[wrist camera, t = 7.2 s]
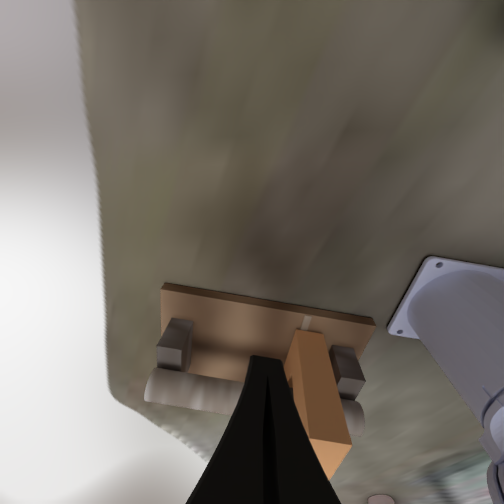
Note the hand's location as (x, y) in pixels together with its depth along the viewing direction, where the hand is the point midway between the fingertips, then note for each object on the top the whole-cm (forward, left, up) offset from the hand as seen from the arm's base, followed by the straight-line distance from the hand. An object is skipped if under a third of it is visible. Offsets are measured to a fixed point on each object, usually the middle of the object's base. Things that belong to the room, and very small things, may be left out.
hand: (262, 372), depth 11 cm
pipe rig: (-1, +10, -10) cm, 14 cm away
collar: (-5, +10, -9) cm, 14 cm away
